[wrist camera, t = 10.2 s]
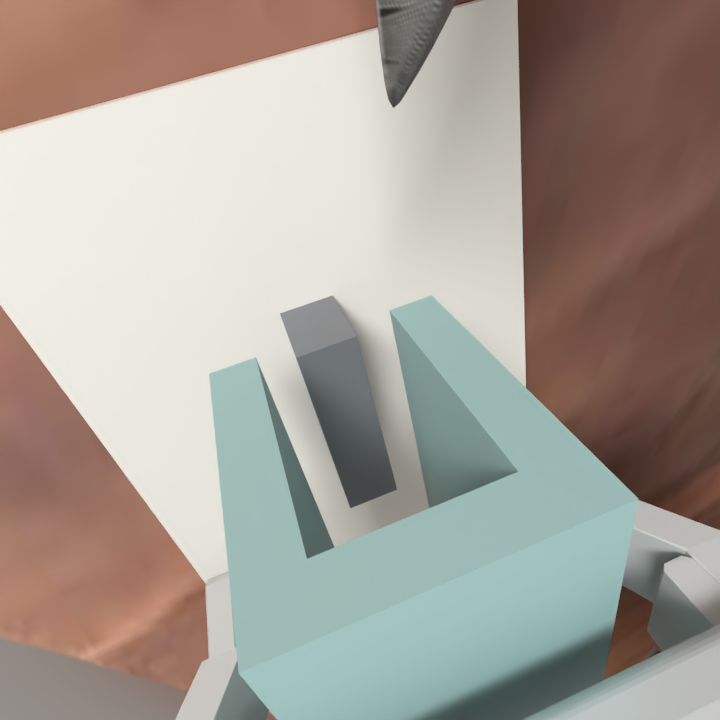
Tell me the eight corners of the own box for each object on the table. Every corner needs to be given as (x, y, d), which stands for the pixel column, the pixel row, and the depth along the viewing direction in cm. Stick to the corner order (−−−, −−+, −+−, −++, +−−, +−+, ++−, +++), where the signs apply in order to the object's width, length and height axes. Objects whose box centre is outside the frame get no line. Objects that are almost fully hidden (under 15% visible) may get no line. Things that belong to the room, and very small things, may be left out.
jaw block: (431, 295, 11) (638, 498, 6) (462, 516, 15) (593, 732, 11) (209, 373, 10) (238, 673, 5) (311, 580, 15) (376, 840, 10)
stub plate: (495, -5, 12) (587, -21, 10) (515, 468, 23) (563, 527, 20) (-84, 153, 11) (-178, 191, 8) (223, 587, 21) (229, 671, 18)
